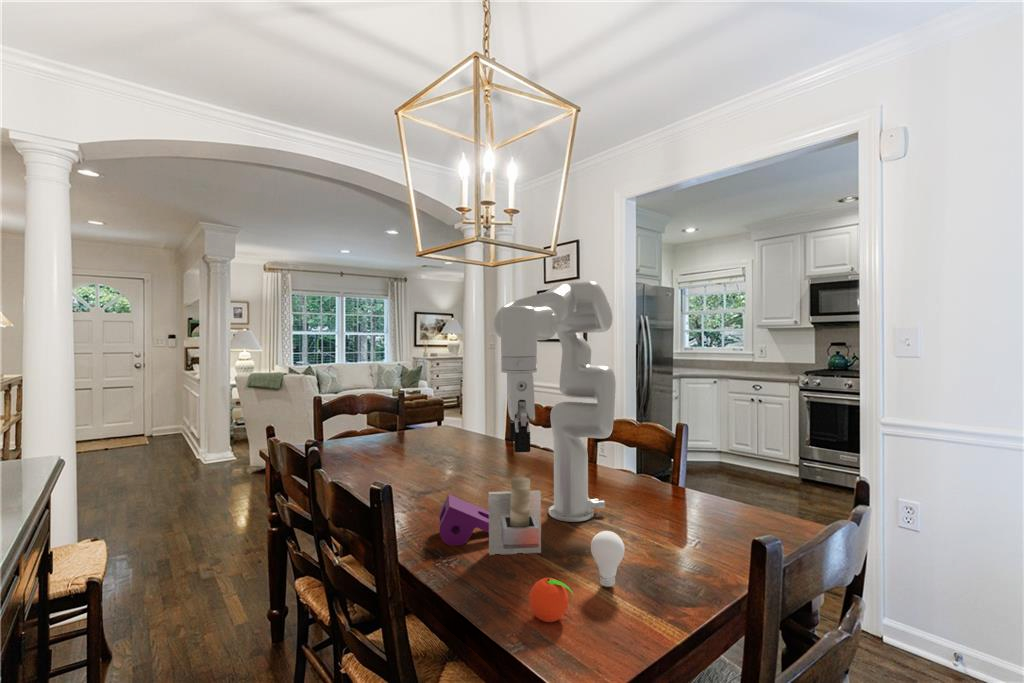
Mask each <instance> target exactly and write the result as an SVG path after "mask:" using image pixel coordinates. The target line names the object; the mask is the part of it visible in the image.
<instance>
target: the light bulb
mask: <svg viewBox="0 0 1024 683" xmlns="http://www.w3.org/2000/svg"><path fill="white" fill-rule="evenodd" d="M625 550H626V549H625V544H624V541H623V540H622V538H621V537H620V536H619V535H618V534H617V533H615V532H613V531H611V530H603V531H599V532H598V533H597V534H595V535H594V537H593V538H592V540H591V543H590V553H591V556H592V557H593V559H594V562H595V563H596V566H597V567H598V573H599V575H600V577H599V583H600V585H602V586H603V587H605V588H608V589H609V588H611V587H614V586H615V584H616V577H615V576H617V575H616V574H617V571H618V570H617V569H618V567H619V565H620V564H621V562H622V560H623V559H624V555H625Z"/></svg>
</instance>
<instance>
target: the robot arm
mask: <svg viewBox="0 0 1024 683" xmlns="http://www.w3.org/2000/svg"><path fill="white" fill-rule="evenodd" d="M493 320H494V323H493V324H494V330H495V333H496V335H497V336H498V337H499V338H500V356H501V357H500V370H501V371H500V372H501V373H504V374H506V398H507V410H508V416H509V418H510V423H509V441H510V442H513V447H514V448H513V451H514V453H517V454H518V453H530V452H531V431H530V421H531V422H532V421H533V422H534V421H535V420H536V409H535V408H536V407H535V405H536V404H535V388H534V386H535V385H534V375H533V373H537V372H538V360H537V359H538V356H537V355H538V351H537V350H538V347H537V341H547V340H549V339H551V338H553V337H554V336H555V335H556V334H557V337H558V339H559V343H560V345H561V360H560V361H561V362H560V363H561V364H560V372H559V382H558V383H559V392H560V393H561V394H562V396H564V397H567V398H571V399H572V398H573V399H585V400H586V399H588V400H589V399H590V400H596V401H597V403H594V402H582V401H581V402H579V401H562V402H558V403H556V404H555V405H554V406H553V407H551V408H552V409H551V410H550V415H549V416H550V417H549V418H550V425H551V426H550V427H551V432H552V439H553V442H552V443H553V505H551V506H550V507H548V515H549V516H550V517H552V519H555V520H558V521H562V522H567V523H568V522H569V523H570V522H571V523H578V522H579V523H580V522H584V521H589V520H590V519H591V518H593V517H594V515H595V514H594V509H597V508H598V509H605V508H606V503H605V500H599V499H598V498H593V499H591V498H590V497H589V455H588V450H587V447H586V445H585V443H584V441H583V440H582V438H588V439H590V438H591V439H607V438H609V437H610V436H611V434H612V432H613V430H614V429H613V428H614V421H615V406H616V404H615V403H616V390H617V389H616V388H617V387H616V385H617V384H616V382H617V381H616V376H615V372H614V370H613V369H612V368H611V367H609V366H605V365H593V364H591V362H592V349H591V346H590V345H589V342H587V340H586V339H585V338H584V337H583V336H582V335H581V334H583V333H585V334H587V333H604V332H608V331H609V330H610V329H611V326H612V324H613V310H612V308H611V305H610V302H609V301H608V299H607V296H606V293H605V291H604V290H603V288H602V287H601V286H600V284H598V283H597V282H596V281H592V280H590V281H588V280H586V281H584V280H583V281H566V282H564V281H563V282H559V283H557V284H555V285H553V286H552V287H551V288H549V289H547V290H546V291H545V292H542V293H537V294H533V295H531V296H527V297H523V298H519V299H516V300H513V301H510V302H508V303H506V304H504V305H503V306H502V307H500V308H499V309H498V311H497V313H496V314H495V317H494V319H493ZM529 420H530V421H529Z"/></svg>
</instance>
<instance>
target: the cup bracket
mask: <svg viewBox="0 0 1024 683" xmlns="http://www.w3.org/2000/svg"><path fill="white" fill-rule="evenodd" d="M488 511H489V532H488V554H489V556H494V555H495V554H500V555H518V554H517V553H523V554H541V553H542V492H541V490H540V489H539V490H530V513H529V527H510V511H511V490H510V491H488ZM495 556H496V555H495Z"/></svg>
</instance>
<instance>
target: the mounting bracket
mask: <svg viewBox="0 0 1024 683" xmlns="http://www.w3.org/2000/svg"><path fill="white" fill-rule="evenodd" d="M476 528H477V529H479V530H482V531H484V532H487V533H489V510H487V509H485V508H482V507H480V506H478V505H475V504H473V503H472V502H468V501H466V500H464V499H461V498H459V497H457V496H455V495H452V494H447V497H446V498H445V501H444V503H443V505H442V507H441V509H440V512H439V535H440V539H441V540H442V542H444V543H445V544H446V545H447V546H450V545H453V546H462V545H465V543H466V544H467V542H468V541H469V540H470V539H471V536H472V534H473V532H474V530H475V529H476Z"/></svg>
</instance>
